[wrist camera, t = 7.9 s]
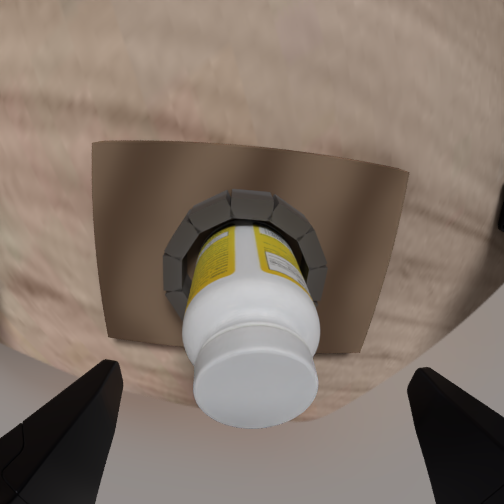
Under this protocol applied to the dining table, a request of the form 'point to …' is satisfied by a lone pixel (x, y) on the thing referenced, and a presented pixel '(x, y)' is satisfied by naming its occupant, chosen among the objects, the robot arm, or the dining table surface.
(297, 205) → the socket board
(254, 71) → the dining table surface
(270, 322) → the supplement bottle
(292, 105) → the dining table surface
